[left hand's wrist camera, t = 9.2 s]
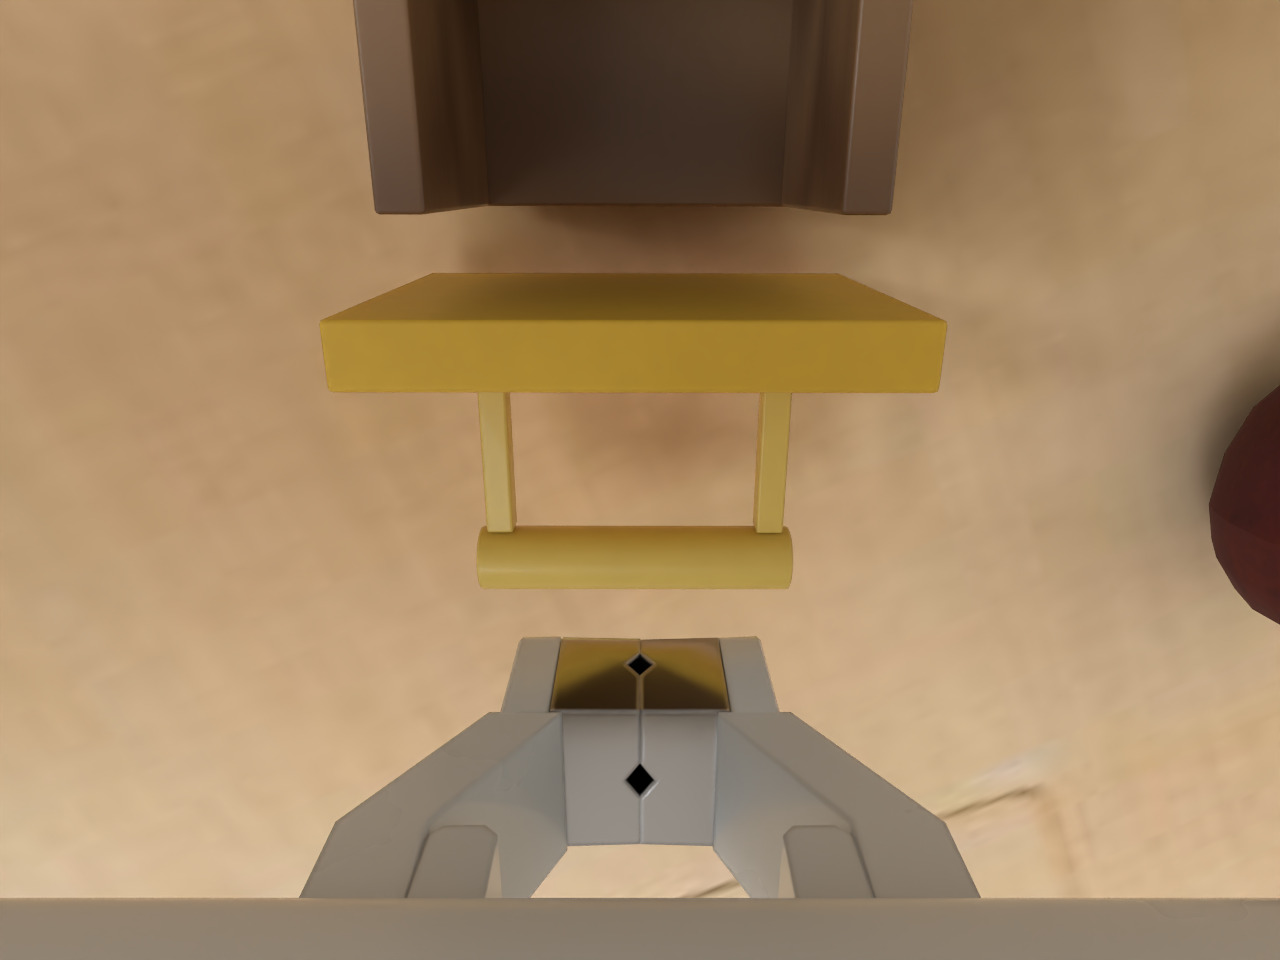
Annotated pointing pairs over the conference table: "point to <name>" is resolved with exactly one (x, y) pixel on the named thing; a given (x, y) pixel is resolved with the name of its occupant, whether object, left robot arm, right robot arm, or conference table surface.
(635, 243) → the conference table surface
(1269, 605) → the dark red ball
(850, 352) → the drawer
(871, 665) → the conference table surface
